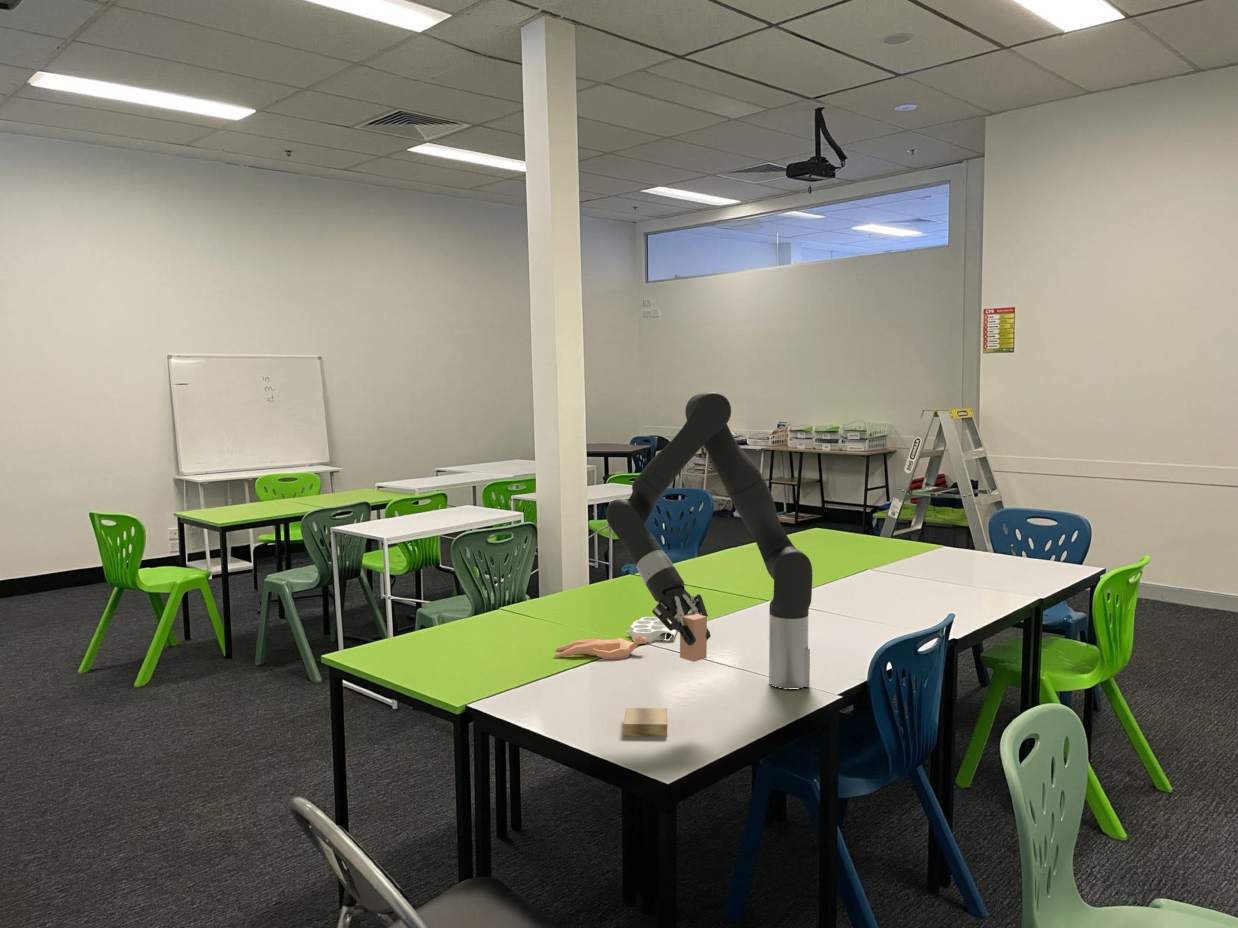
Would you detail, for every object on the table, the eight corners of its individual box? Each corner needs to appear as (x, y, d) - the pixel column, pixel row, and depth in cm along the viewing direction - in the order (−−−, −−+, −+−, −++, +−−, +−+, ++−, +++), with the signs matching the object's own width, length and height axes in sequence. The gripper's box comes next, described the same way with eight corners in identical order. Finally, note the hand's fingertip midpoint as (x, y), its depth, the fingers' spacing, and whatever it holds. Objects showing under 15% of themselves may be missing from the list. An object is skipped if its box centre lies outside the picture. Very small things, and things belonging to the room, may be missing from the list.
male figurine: (556, 637, 240) (646, 629, 239) (558, 654, 241) (647, 647, 240) (552, 648, 230) (646, 640, 229) (554, 667, 230) (648, 659, 229)
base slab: (667, 721, 187) (667, 708, 187) (667, 738, 178) (667, 724, 178) (625, 721, 188) (625, 708, 188) (623, 738, 179) (623, 723, 179)
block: (692, 653, 188) (693, 613, 187) (706, 657, 185) (706, 616, 184) (679, 657, 185) (680, 616, 184) (693, 661, 182) (694, 619, 181)
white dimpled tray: (672, 646, 243) (621, 643, 245) (679, 628, 260) (631, 626, 263) (672, 634, 243) (621, 632, 245) (679, 617, 260) (631, 616, 263)
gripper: (645, 570, 184) (686, 638, 176) (690, 561, 194) (732, 625, 186) (628, 590, 188) (667, 657, 181) (673, 580, 198) (713, 644, 190)
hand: (700, 640), depth 183 cm, fingers closed on block, 4 cm apart
